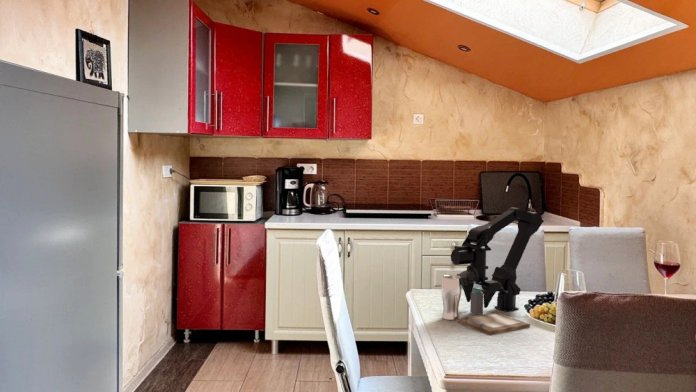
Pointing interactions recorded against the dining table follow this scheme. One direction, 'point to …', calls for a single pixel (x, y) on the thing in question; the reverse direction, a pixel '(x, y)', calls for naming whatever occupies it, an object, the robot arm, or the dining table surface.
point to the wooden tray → (493, 323)
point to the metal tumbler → (451, 296)
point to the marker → (476, 301)
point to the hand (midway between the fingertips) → (476, 304)
